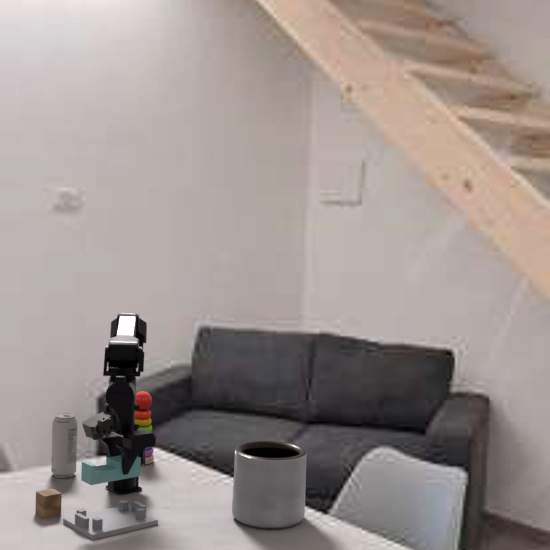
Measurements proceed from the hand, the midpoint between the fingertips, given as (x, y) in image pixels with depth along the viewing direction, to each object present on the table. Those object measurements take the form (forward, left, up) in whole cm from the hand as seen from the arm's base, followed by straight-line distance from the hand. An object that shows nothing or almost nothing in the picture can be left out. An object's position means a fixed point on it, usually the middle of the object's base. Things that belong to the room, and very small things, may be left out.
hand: (119, 471), depth 203 cm
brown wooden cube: (+10, -12, -11) cm, 19 cm away
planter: (-28, +17, -11) cm, 34 cm away
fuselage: (+2, 0, -1) cm, 2 cm away
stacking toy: (-29, -36, -11) cm, 48 cm away
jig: (+2, 0, -11) cm, 11 cm away
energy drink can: (-7, -36, -11) cm, 39 cm away
